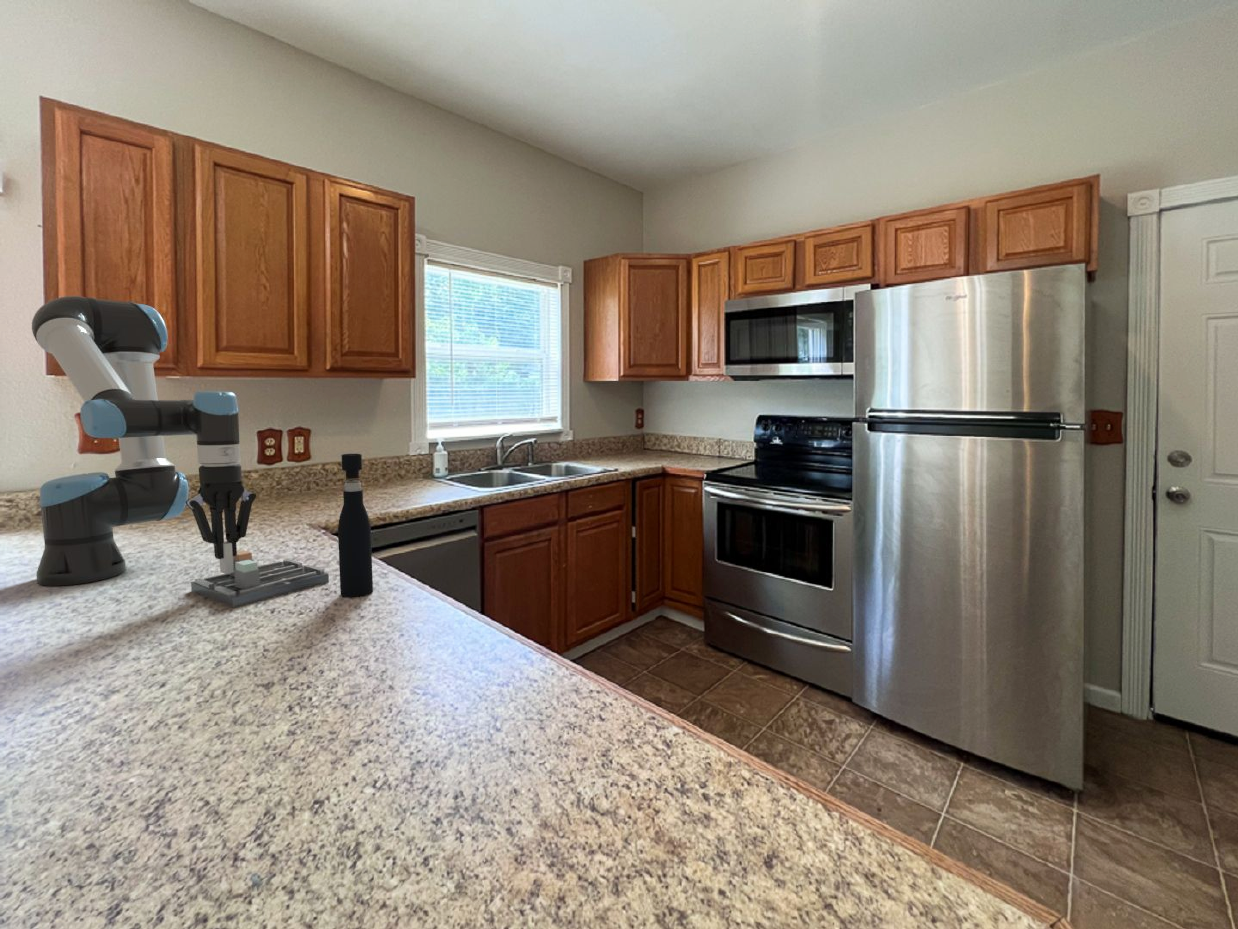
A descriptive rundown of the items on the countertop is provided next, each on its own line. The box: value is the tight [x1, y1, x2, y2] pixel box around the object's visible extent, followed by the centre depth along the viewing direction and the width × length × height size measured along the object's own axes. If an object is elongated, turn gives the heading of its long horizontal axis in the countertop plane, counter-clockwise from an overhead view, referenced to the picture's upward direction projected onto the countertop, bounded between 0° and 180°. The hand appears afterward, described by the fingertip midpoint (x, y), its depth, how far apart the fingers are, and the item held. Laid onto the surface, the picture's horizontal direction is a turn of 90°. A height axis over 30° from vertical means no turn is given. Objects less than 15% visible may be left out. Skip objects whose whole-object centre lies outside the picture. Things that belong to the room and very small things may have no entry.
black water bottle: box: [337, 453, 374, 599], centre depth 124 cm, size 6×6×30 cm
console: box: [190, 558, 330, 609], centre depth 129 cm, size 18×20×3 cm
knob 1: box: [231, 549, 254, 577], centre depth 129 cm, size 4×3×5 cm
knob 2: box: [234, 560, 260, 589], centre depth 122 cm, size 4×3×5 cm
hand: (227, 572), depth 127 cm, fingers closed
